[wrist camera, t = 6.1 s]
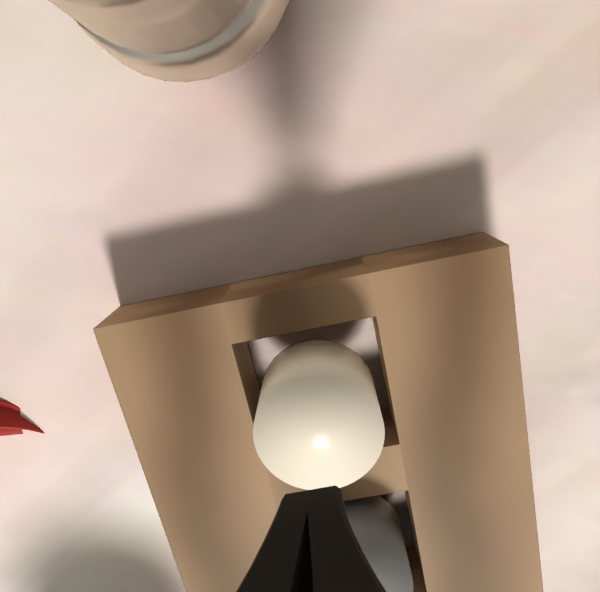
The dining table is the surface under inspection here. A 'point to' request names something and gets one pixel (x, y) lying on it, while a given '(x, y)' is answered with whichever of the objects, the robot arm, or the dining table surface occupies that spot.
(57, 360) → the dining table surface
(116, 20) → the plastic bottle
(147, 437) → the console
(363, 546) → the graphite key
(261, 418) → the ivory key
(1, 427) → the cayenne pepper
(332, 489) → the robot arm
